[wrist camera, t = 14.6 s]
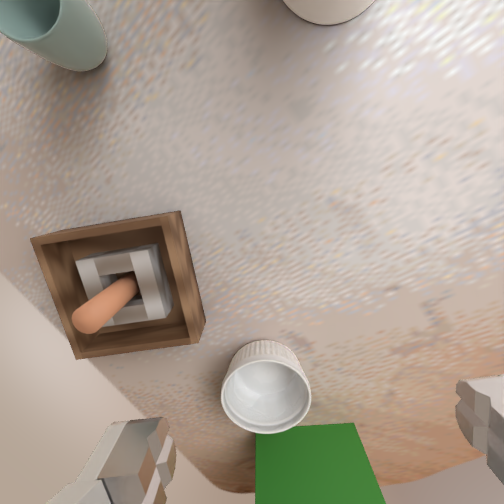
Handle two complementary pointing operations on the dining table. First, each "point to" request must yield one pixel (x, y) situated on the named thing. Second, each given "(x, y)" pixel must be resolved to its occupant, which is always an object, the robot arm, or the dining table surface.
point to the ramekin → (265, 388)
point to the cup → (56, 31)
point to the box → (113, 268)
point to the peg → (105, 304)
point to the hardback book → (314, 467)
